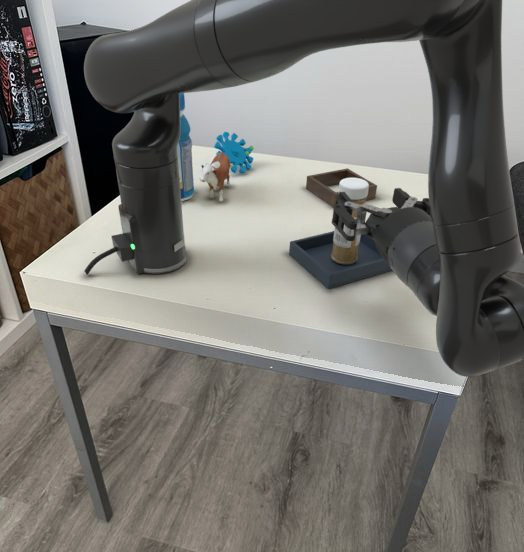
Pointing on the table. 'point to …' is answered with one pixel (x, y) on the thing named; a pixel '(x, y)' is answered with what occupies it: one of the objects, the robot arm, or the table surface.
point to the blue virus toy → (235, 152)
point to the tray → (331, 274)
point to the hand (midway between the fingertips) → (368, 196)
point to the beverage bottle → (185, 155)
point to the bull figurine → (217, 174)
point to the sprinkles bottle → (357, 193)
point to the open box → (322, 180)
